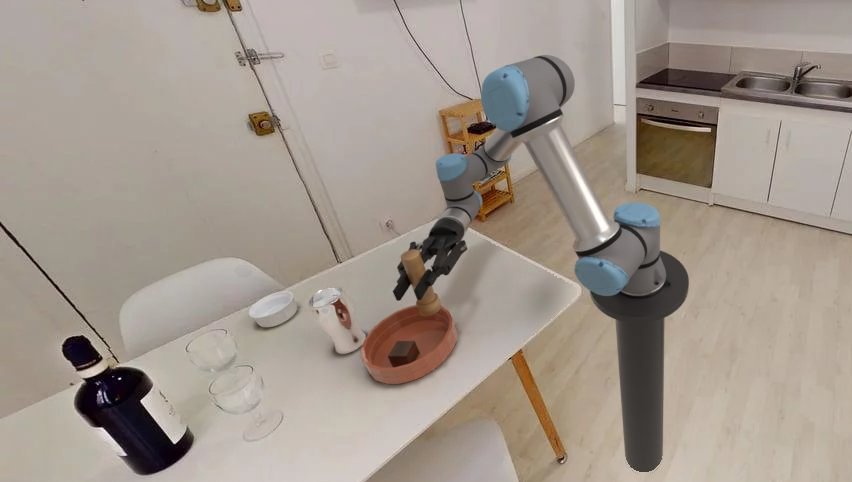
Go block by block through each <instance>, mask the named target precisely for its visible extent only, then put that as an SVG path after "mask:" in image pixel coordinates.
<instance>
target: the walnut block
mask: <svg viewBox="0 0 852 482" xmlns="http://www.w3.org/2000/svg"><path fill="white" fill-rule="evenodd" d="M419 353H420V352H419V350H418V347H417V345H416V343H415V341H397V342H396V343H395V345H394V347H393V348H392V350H391V351H390V353H389V355H388V358H389V360H390V362H391V365H392V367H398V366H402V365H406V364H410V363H412V362H414V361H415V360H416V359H417V357H418V355H419Z"/></svg>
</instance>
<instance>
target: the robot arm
mask: <svg viewBox="0 0 852 482" xmlns="http://www.w3.org/2000/svg"><path fill="white" fill-rule="evenodd" d="M575 82H576V80H575V76H574V73H573V71H572V69H571V67H570V66H569V65H568V64H567V63H566V62H565V61H564V60H562V59H561V58H559V57H557V56H554V55H550V54H542V55H537V56H534V57H531V58H528V59H525V60H521V61H518V62H513V63H510V64H506V65H504V66H501V67H500V68H498V69H496V70H493V71H490V73H488V75H486V77H485V78H484V80H483V81H482V85H481V92H480V102H481V108H482V109H483V112H484V114H485V116H486V118H487V120H488V121H489V122H490V123H491V125H492V126H494V127H496V128H495V130H494V131H493V132H492V133H491V135H490V136H488V138H487V139H486V141H485V142H484V143H483V144H482V146H481V147H479V148H478V149H476V150H474V151H472V152H470V153H468V154H466V155H464V154H462V153H458V152H457V153H454V152H453V153H449V154H445V155H442V156H440V157H439V158H438V159H437V160H436V162H435V170H436V174H437V178H438V180H439V183H440V186H441V189H442V192H443V196H444V197H443V198H444V200H445V203H446V208H445V209H444V211H443V212H442V214H441V215H440V216H439V218H438V219H437V220H436V222H435V223H434V224H433V226H432V227H431V229H430V230H429V233H428V236H427V237H426V238H425V239H423V241H422V242H419V243H416V241H411V242H410V243H409V248H408V250H413V249H416V250H418V251H419V252H420V255H421V258H422V260H423V263H424V265H425V264H426V263H427V262H428V261H429V260H430V261H431V260H432V259H433V258H434V257H435V258H434V260H433V264H432V265H430V267H431V268H427V269H426V272H425V274H424V275H423V277H422V278H421V280H420V281H419V283H418V284H417V286H416V288H415V289H414V290H413V293H414V296H415V298H416V301H417V300H421V299H422V297H423V296H424V294H425V292H426V291H427V289H428V287H429V286H432V287H433V286H434V284H435V283H436V281H437V280H438V278H439V277H441V276H443V275H444V276H449V275H450V273H451V272H452V270H453V269H454V267H455V265H456V264H457V263H458V261H459V260H460V258H461V256H462V255H463V254H465V252H467V251H468V246H467V242H466V240H465V239H463V238H464V236H465V235H466V233H467V231H468V229H469V228H470V226H471V224H472V223H473V221H474V219H475V218H476V216H477V215H478V214H479V212H480V210H481V207H482V204H483V198H482V196H481V194H480V193H479V191H477V190H476V189H474V185H473V184H474V183H476V182H478V181H480V180H481V179H483V178H485V177H486V176H488V175H490V174H491V173H493V172H495V171H497V170H499V169H501V168H503V167H504V166H506V165H508V163H510V162H511V160H512V155H513V153H515V151H516V150H518V148H519V147H520V146H521V145H522V144H524V146H525V148H526V149H527V151H528V153H529V155H530V157H531V159H532V160H533V162H534V165H535V166H536V168H537V170H538V172H539V173H540V175H541V177H542V179H543V181H544V183H545V185H546V186H547V188H548V191H549V192H550V194H551V195H552V198H553V199H554V202H555V203H556V205H557V207H558V208H559V210H560V212H561V214H562V216H563V217H564V219H565V221H566V223H567V226H568V227H569V229H570V230H571V233H572V234H573V236H574V238H575V239H574V242H573V245H572V247H573V250H574V252H575V254H576V256H577V258H578V259H577V261H576V262H575V265H574V269H573V270H574V275H575V277H576V278H577V279H576V280H578V282H579V283H580V284H582V286H583V287H584V288H586V289H587V290H588V291H589V292H590V291H592V292H594V293H596V294H599V295H603V296H612V295H615V294H617V293H620V294H621V295H623V296H626V297H629V298H636V299H640V298H647V297H651V296H653V295H655V294H657V293H658V292H660V291H661V290H662V289H663V287H664V286H665V283H667V284H669V285H670V284H671V281H669V280H667V279H666V270H665V267H664V265H663V263H662V260H661V258H660V251H661V224H662V223H661V219H660V218H661V217H660V212H659V211H658V210H657V209H656V207H654V206H652V205H650V204H647V203H645V202H644V203H643V202H626V203H623V204H620V205H618V206H617V207H616V208H615V209H614V211H613V215H612V218H613V220H611V219H609V216H608V215H607V213H606V211H605V208H604V207H603V205H602V203H601V201H600V199H599V197H598V195H597V193H596V191H595V189H594V187H593V185H592V183H591V182H590V180H589V177H588V176H587V173H586V172H585V170H584V167H583V166H582V164H581V162H580V160H579V158H578V156H577V153H576V152H575V150H574V148H573V146H572V144H571V143H570V140H569V137H568V136H567V134H566V132H565V131H564V128H563V127H562V122H563V118H564V112H563V111H562V109H561V108H562V107H563V106H564V105H565V104H566V103H568V101H569V100H570V99H571V98H572V96H573V95H574V92H575V85H576V83H575ZM396 269H397V271H398V274H399V277H398V279H397V281H396V283H397V284H396V285H395V287H394V289H393V290H392V293H393V296H394V299H395V300H396V301H397V302H398V301H402V298H403V297H404V296H405V294H406V293H407V291H408V290H409V288H410V287H411V286H412V285H411V283H410V280H409V278H408V275H407V273H406V270H405V268H404V265H403V263H402V260H401V259H400V262H399V264H397V267H396Z"/></svg>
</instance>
